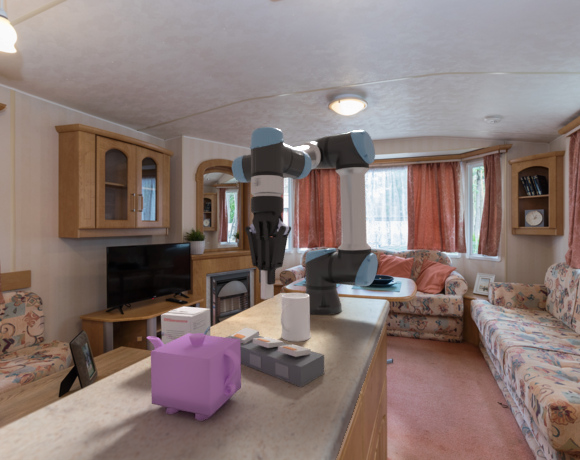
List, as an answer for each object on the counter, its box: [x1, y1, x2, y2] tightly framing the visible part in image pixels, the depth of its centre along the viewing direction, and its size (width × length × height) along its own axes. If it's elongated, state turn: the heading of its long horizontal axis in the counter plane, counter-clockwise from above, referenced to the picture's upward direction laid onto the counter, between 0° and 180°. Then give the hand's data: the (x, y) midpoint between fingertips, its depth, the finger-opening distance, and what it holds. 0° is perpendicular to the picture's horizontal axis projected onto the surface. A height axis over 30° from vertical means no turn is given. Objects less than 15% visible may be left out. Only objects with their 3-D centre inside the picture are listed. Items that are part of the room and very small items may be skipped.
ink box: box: [160, 306, 211, 345], centre depth 81 cm, size 9×8×12 cm
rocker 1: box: [230, 326, 261, 344], centre depth 82 cm, size 5×5×1 cm
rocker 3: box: [278, 343, 312, 357], centre depth 72 cm, size 5×5×1 cm
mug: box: [280, 292, 312, 342], centre depth 94 cm, size 12×8×12 cm
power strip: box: [225, 335, 325, 388], centre depth 79 cm, size 8×32×4 cm, turn 49°
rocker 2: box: [253, 336, 284, 348], centre depth 77 cm, size 5×5×1 cm
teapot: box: [146, 333, 242, 421], centre depth 60 cm, size 20×10×12 cm, turn 70°
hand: (267, 298), depth 77 cm, fingers closed
